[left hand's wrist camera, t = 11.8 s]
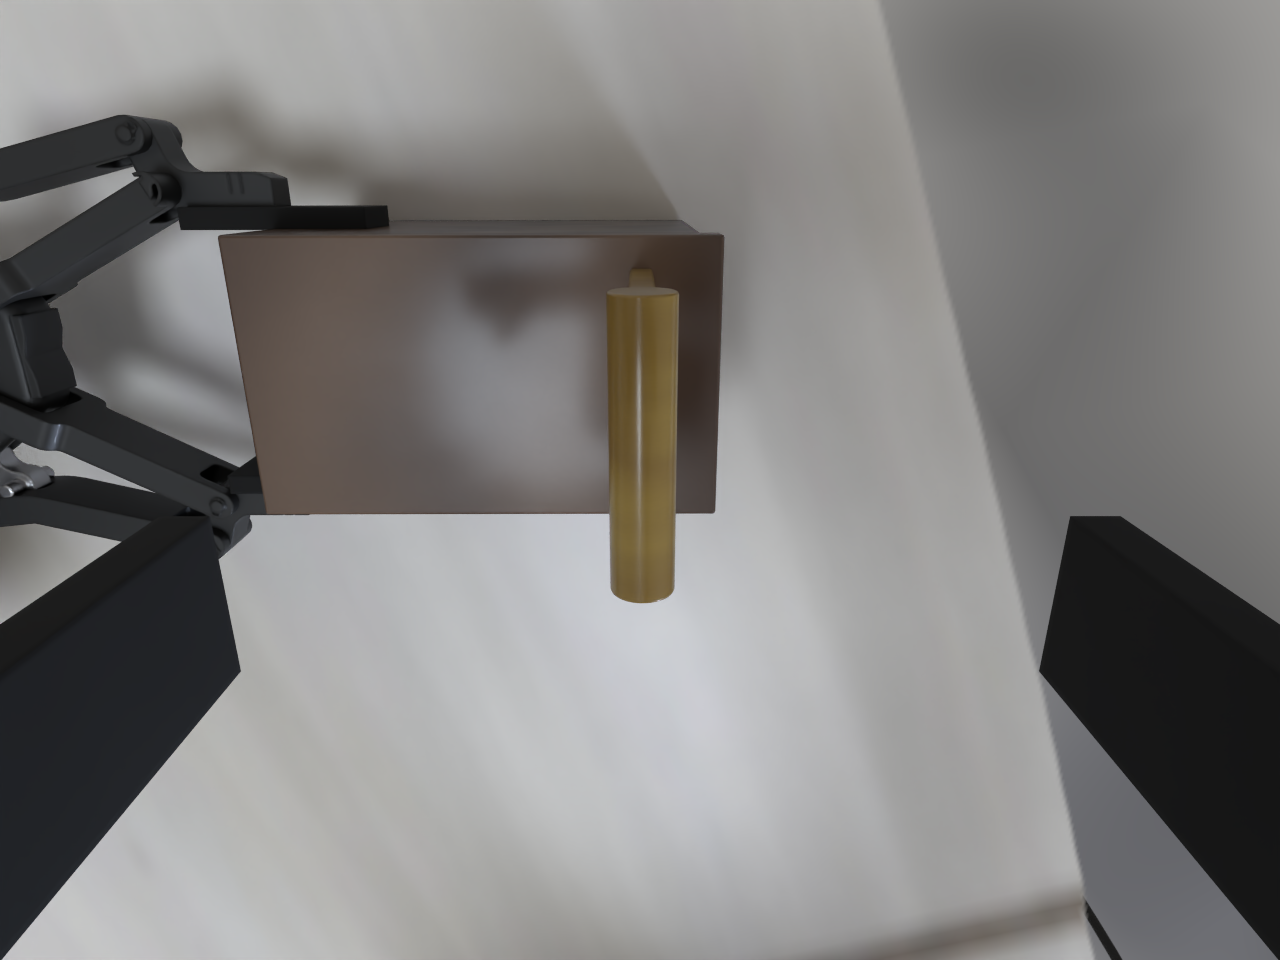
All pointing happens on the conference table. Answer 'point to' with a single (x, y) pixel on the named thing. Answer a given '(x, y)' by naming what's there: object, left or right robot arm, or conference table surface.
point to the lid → (487, 378)
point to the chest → (511, 227)
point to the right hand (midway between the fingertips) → (391, 352)
